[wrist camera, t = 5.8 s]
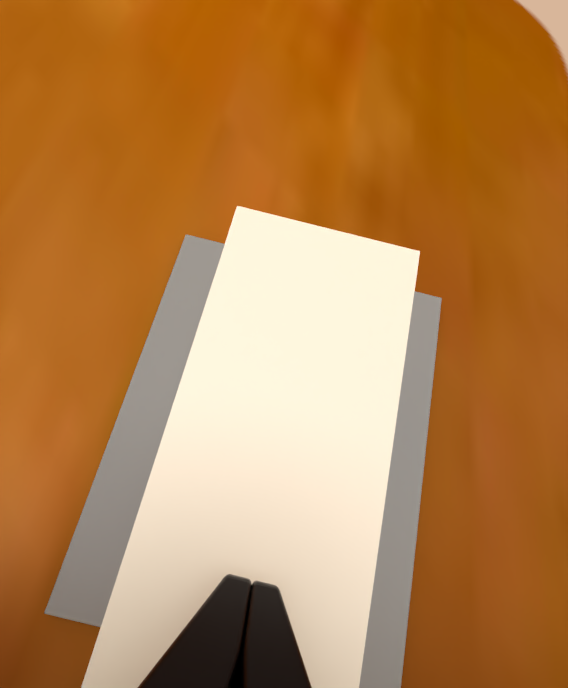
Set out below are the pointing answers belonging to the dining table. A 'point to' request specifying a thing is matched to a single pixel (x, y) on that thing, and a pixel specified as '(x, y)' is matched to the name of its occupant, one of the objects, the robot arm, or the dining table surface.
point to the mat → (146, 434)
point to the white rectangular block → (273, 449)
